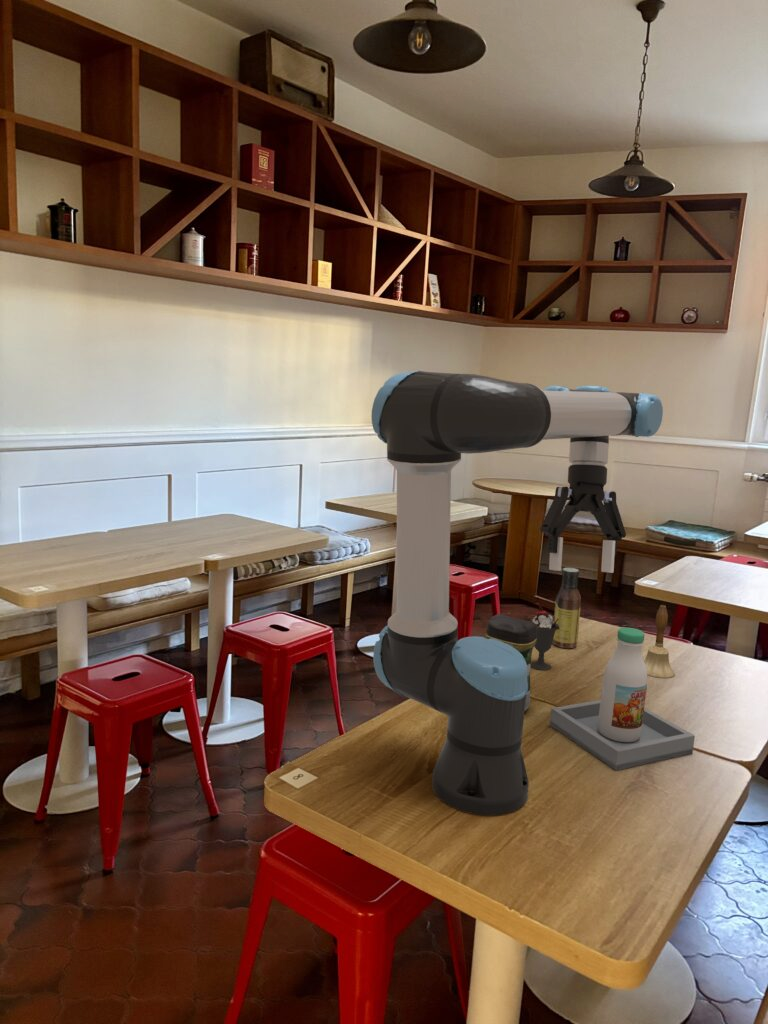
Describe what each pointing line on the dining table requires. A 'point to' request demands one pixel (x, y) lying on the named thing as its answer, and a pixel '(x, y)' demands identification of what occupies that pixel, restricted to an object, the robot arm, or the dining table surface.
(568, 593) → the sauce bottle
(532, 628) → the coffee jar
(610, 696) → the milk bottle
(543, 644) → the sundae
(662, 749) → the serving tray
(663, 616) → the hand bell
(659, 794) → the dining table surface
